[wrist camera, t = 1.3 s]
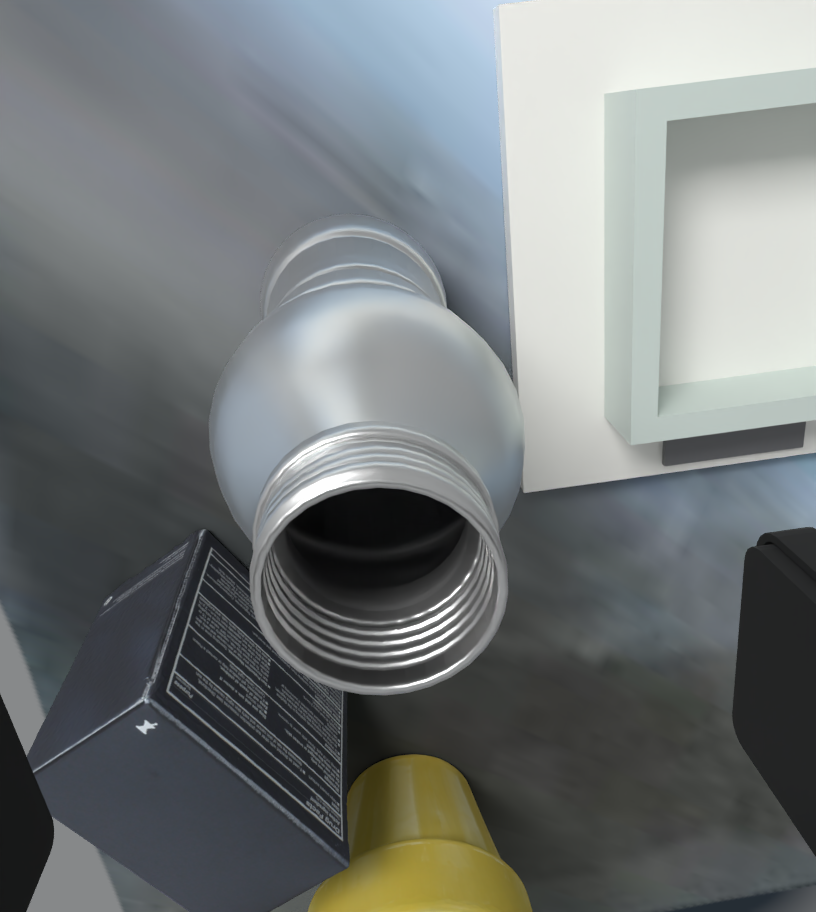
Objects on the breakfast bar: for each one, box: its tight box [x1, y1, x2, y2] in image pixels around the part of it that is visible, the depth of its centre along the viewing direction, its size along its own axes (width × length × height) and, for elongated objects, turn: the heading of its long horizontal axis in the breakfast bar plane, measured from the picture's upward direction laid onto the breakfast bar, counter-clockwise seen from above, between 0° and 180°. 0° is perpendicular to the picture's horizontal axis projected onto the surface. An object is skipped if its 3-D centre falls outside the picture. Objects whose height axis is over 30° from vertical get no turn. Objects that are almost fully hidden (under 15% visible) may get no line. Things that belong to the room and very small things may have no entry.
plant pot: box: [308, 754, 532, 912], centre depth 35 cm, size 10×10×10 cm
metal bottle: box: [209, 213, 525, 695], centre depth 19 cm, size 6×7×20 cm
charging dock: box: [493, 0, 816, 493], centre depth 27 cm, size 18×18×4 cm
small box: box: [27, 529, 350, 912], centre depth 30 cm, size 11×6×10 cm, turn 36°
